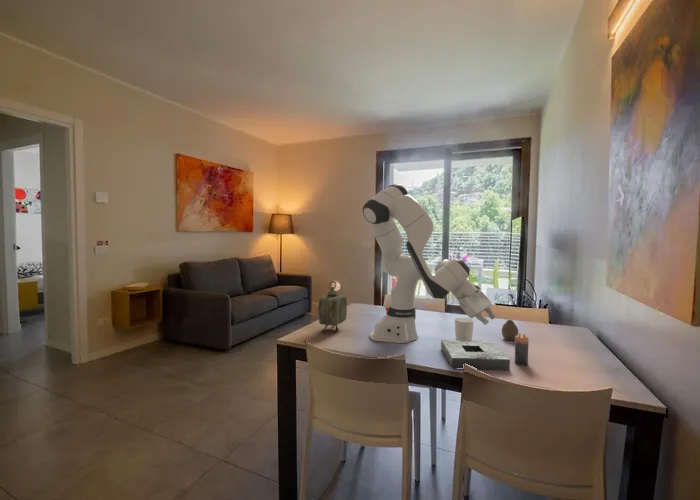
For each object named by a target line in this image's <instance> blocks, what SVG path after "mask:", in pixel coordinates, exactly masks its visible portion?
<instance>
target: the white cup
mask: <svg viewBox="0 0 700 500" xmlns="http://www.w3.org/2000/svg"><path fill="white" fill-rule="evenodd" d="M454 331H455V332H454V333H455V340H473V333H474V319H473V318H470V317H469V318H468V317H456V318H455V319H454Z"/></svg>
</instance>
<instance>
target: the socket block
mask: <svg viewBox="0 0 700 500" xmlns="http://www.w3.org/2000/svg"><path fill="white" fill-rule="evenodd" d="M440 341H441V342H440V349H442V350H441V351H442V353H443V355H444V357H445V358H447V359H446V361H447V363H448V364H449V366H450V365H451V366H450V367H452V368H463V364H465V363H466V364H468V365H470V366H473V367H475V368H477V369H480V371H481V370H483V371H507V372H508V371H510V370H511V369H510V367H511V366H510V365H511V362H510V361H511V359H510V358H509V357H508V356H507V355H505V354H504V352H503V351H501V350H500V348H498V347H497V345H496V344H494V343H493V342H492V341H491V340H474V339H472V340H456V339H441V340H440ZM452 368H451V369H452Z"/></svg>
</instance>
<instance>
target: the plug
mask: <svg viewBox="0 0 700 500" xmlns="http://www.w3.org/2000/svg"><path fill="white" fill-rule="evenodd" d="M522 334H523V335H521V333H518V335H516V336H515V340H514V364H515V365H518V366H524V367H526V366H528V365H529V342H530V341H529V338H530V337H528V336H527V335H526V333H522Z"/></svg>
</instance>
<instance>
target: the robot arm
mask: <svg viewBox="0 0 700 500" xmlns="http://www.w3.org/2000/svg"><path fill="white" fill-rule="evenodd" d="M362 214H363V217H364V219H365V220H366V221H367V222H368V223H369V226H370V229H371V232H372V235H373V236H374V238H375V240H376V242H377V244H378V245H379V248H380V251H381V254H382V261H381V268H382V271H383V273H386V274H387V275H389V276H391V277H395V278H396V283H395V285H394V287H393V288H391V290H390V306H389V305H386V306H385V307H384V308H385V311H386V314H385V315H384V316H383V317H381V318H380V319H379V320H378V319H377V321H376V323H375V326H374V329H373V330H371V332H370V333H369V338H370V339H371V340H372V341H374V342H375V341H376V342H383V343H384V342H386V343H395V344H396V343H399V344H407V343H409V342H412V341H415V340H418V338H419V335H418V333H417V328H416V327H417V326H416V318H417V317H416V311H417V310H416V306H415V299H416V298H415V296H416V289H417V286H418V283H419V281H420V279H421V281H422V282H423V285H424V288H425V290H426V292H427V294H428V295H429V296H430V297H431V298H433V299H437V300H439V299H440V300H443V299H445V298H446V297H447V296H448V295H449V294H450V293H451V294H452V295H453V297H454V298H455V299H456V300H457V301H458V302H459V306H460V308H461V310H463V311H464V313H465V314H466V315H467V317H469V319H474V318H476V319H477V320H478V321H480V322H481V323H482V324H483V325H484V326H485V325H487V324H489V322H490V320H489V319H487V317H485V316H484V315H483V314H482V313H483V312H485V313H486V314H487V315H488V317H489V318H490V319H491V320H494V319H495V318H497V316H496V314H494V312H493V309H492V305H493V304H492V302H491V300H490V299H489V298H488V297H487V295H486V294H485V293H484V292H483V291H482V290H481V287H480V286H479V285H477V284H474V283H472V282H471V280H469V279H468V278H469V277H470V272H471V270H470V267H469V266H468V265H467V264H466V263H465V262H464V261H463V260H462V258H460V259H459V258H452V259H446V258H445V259H443V260H441V261H439V262H438V263H437V264H436V266H435V267H434V272H433V273H432V272H431V270H430V268H429V267H428V264H427V263H426V260H425V258H424V256H423V253H424V249H425V247H426V245H427V243H428V241H429V240H430V239H431V237H432V235H433V232H434V221H433V220H432V218H431V217H430V215H429V213H428V212H427V211H426V210H425V209H424V207H423V206H422V205H421V203H419V201H417V200H416V199H415V198H414V197H413V196H412V195H410V194H409V192H408V190H407V189H406V188H405V186H403V185H402V184H400V183H394V184H390V185H389V186H387V187H386V188H384V189H382V190H380V191H378V193H377V194H375V195H374V196H372V198H370V199H369V200H367V201H366V202H365V203H364V205H363V206H362ZM394 219H395V220H396V221H397V222H398V223H399V225H400V226H401V227H402V229H403V230H404V232H405V234H406V237H407V242H406V243H405V245H406V250H407V252H408V253H409V254H405V253H404V252H403V249H402V246H403V244H404V238H403V235H402V234H401V231H400V230H399V227H398V225H397V223H396V221H395V220H394Z"/></svg>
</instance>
